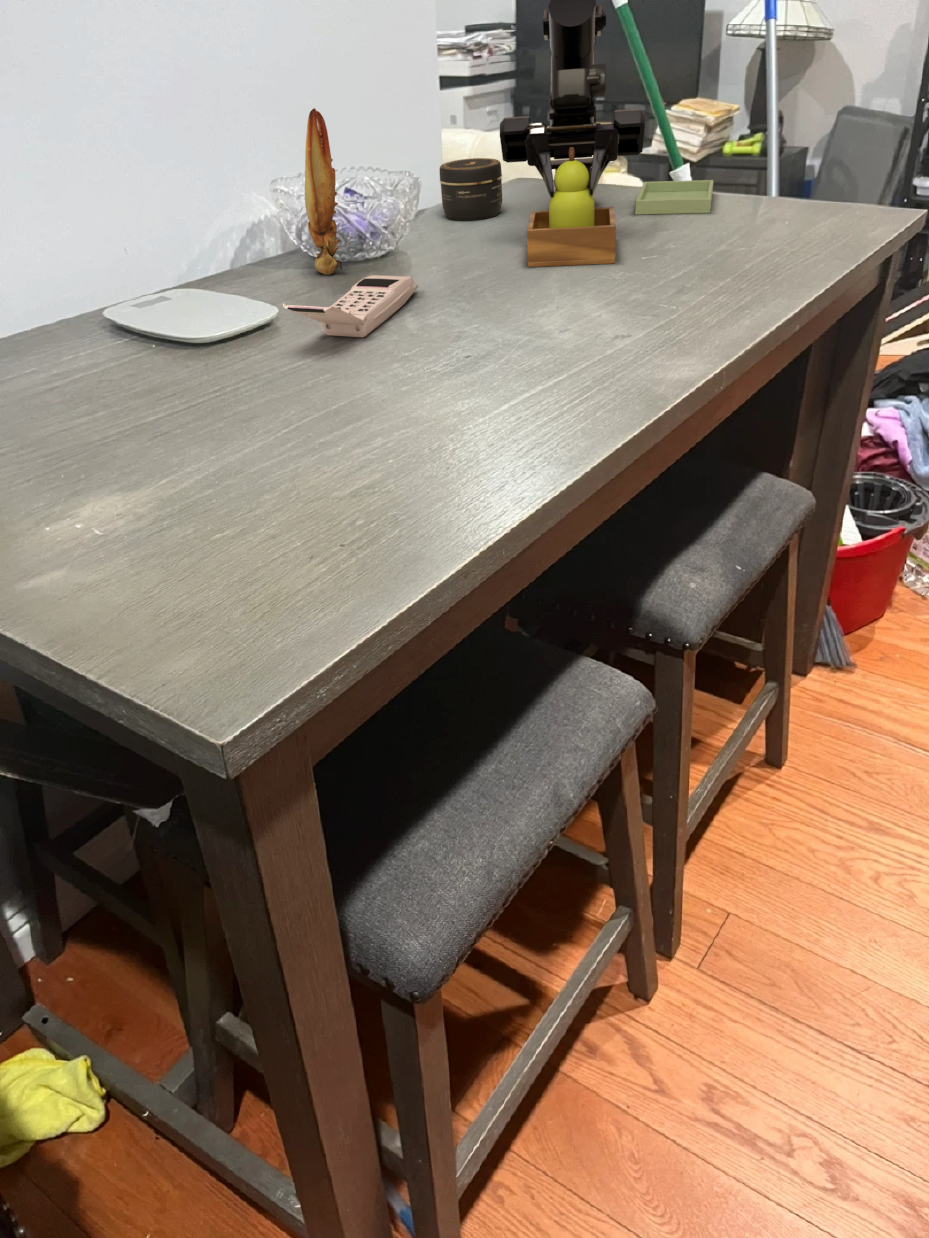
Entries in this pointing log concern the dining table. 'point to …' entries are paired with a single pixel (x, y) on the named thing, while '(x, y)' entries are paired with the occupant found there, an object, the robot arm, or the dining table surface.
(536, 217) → the wooden box
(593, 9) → the robot arm
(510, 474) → the dining table surface
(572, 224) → the pear
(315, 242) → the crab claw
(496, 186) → the jar
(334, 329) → the mobile phone
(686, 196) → the tray
